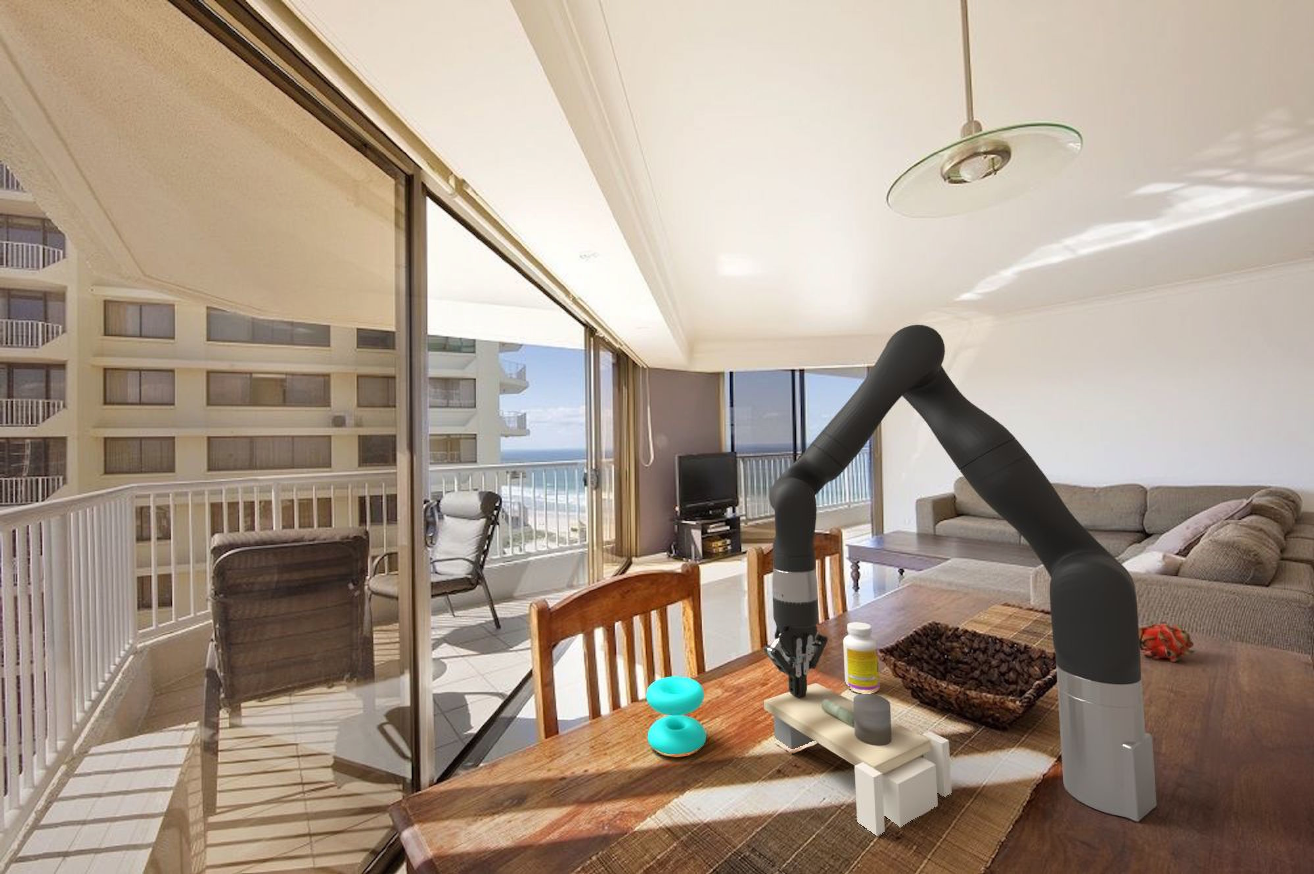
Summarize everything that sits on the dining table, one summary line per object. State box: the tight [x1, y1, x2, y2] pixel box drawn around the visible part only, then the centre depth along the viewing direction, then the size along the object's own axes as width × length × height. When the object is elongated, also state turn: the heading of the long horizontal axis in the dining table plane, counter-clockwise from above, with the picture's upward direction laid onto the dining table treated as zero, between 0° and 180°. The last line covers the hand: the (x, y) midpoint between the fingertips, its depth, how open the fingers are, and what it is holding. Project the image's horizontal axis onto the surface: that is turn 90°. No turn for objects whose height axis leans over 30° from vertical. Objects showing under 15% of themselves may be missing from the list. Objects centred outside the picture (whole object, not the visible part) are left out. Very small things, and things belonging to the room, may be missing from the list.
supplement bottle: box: [842, 621, 880, 690], centre depth 110 cm, size 7×7×13 cm
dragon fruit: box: [1139, 621, 1195, 663], centre depth 119 cm, size 8×8×12 cm
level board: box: [763, 682, 931, 774], centre depth 83 cm, size 22×12×6 cm, turn 29°
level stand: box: [773, 715, 953, 837], centre depth 82 cm, size 24×16×8 cm, turn 29°
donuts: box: [645, 676, 707, 754], centre depth 91 cm, size 10×10×10 cm
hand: (798, 695), depth 91 cm, fingers closed
